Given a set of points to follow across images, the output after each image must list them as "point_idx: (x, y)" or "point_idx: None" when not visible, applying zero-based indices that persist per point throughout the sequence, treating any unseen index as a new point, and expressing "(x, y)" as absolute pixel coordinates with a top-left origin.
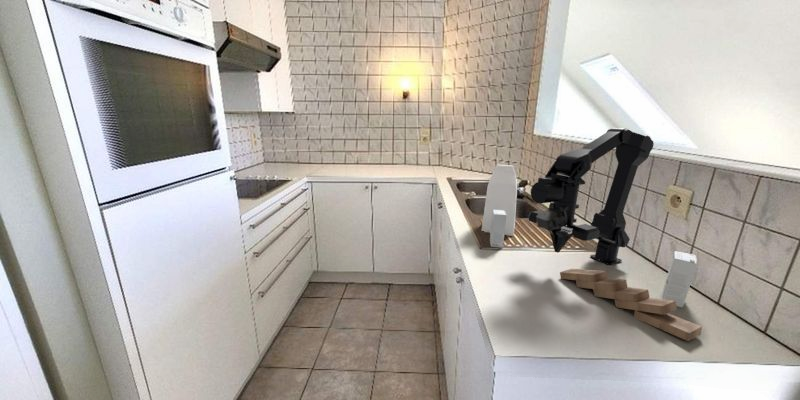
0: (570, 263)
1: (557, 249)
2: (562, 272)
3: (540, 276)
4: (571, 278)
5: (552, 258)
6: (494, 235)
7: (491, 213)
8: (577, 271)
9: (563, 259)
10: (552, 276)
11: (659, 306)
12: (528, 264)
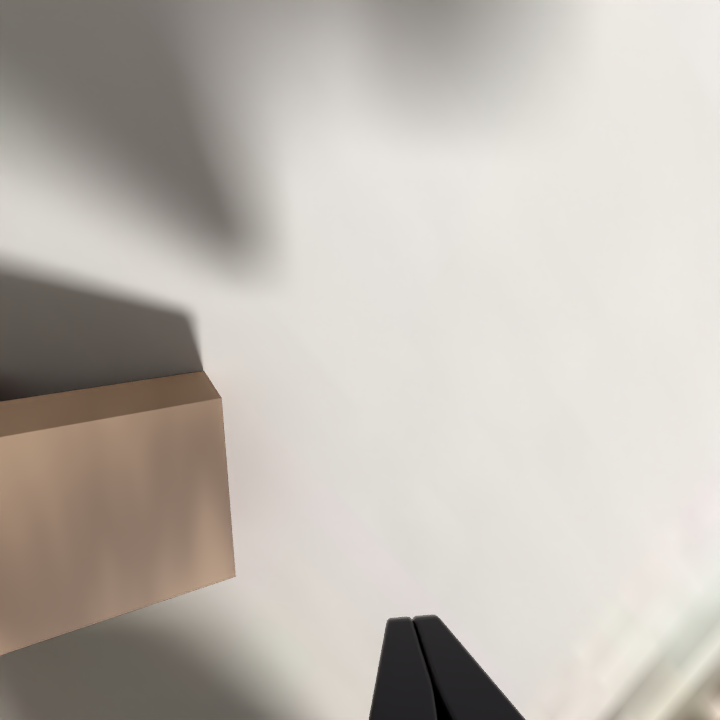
0: None
1: (388, 664)
2: (181, 406)
3: (339, 195)
4: (47, 399)
5: (538, 621)
6: None
7: None
8: (45, 536)
9: None
10: (280, 328)
11: None
12: (601, 315)
